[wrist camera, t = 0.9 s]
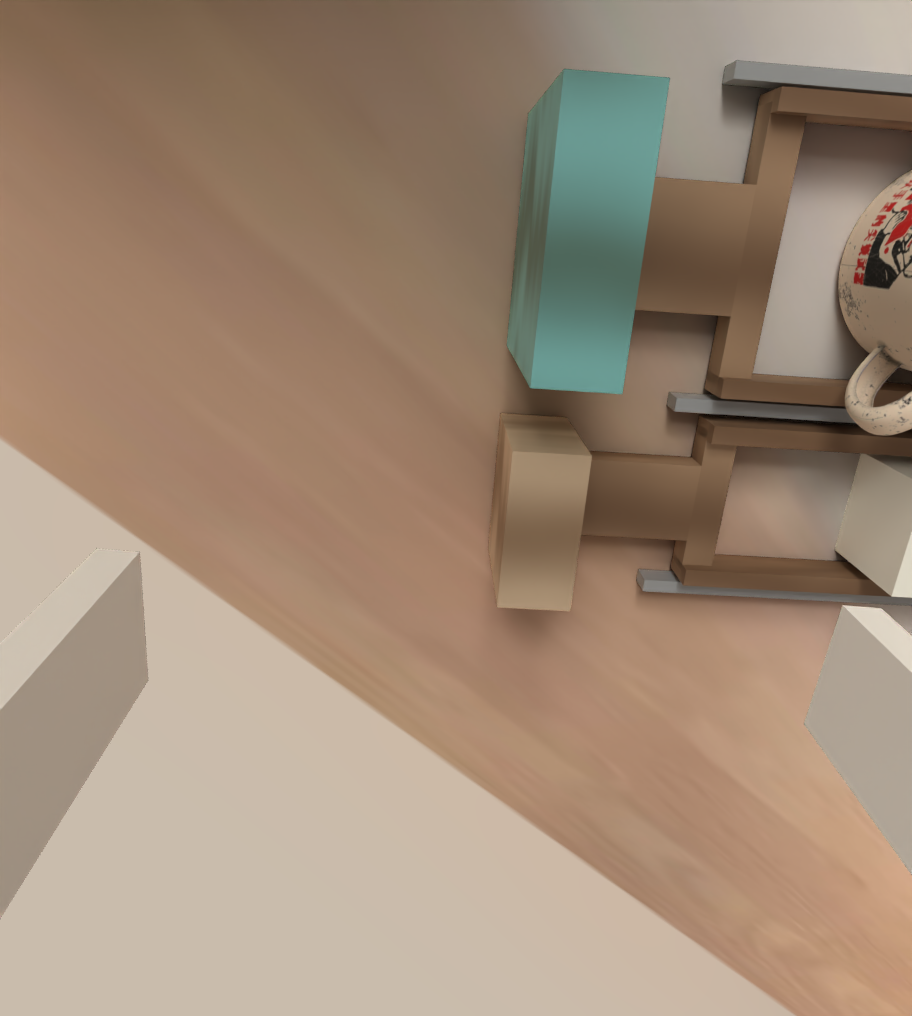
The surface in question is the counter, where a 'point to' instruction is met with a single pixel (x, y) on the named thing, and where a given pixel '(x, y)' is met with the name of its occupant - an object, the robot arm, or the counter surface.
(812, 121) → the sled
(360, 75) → the counter surface
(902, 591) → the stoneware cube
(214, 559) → the counter surface
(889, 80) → the lane rails
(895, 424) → the teacup with lid
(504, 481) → the sled
